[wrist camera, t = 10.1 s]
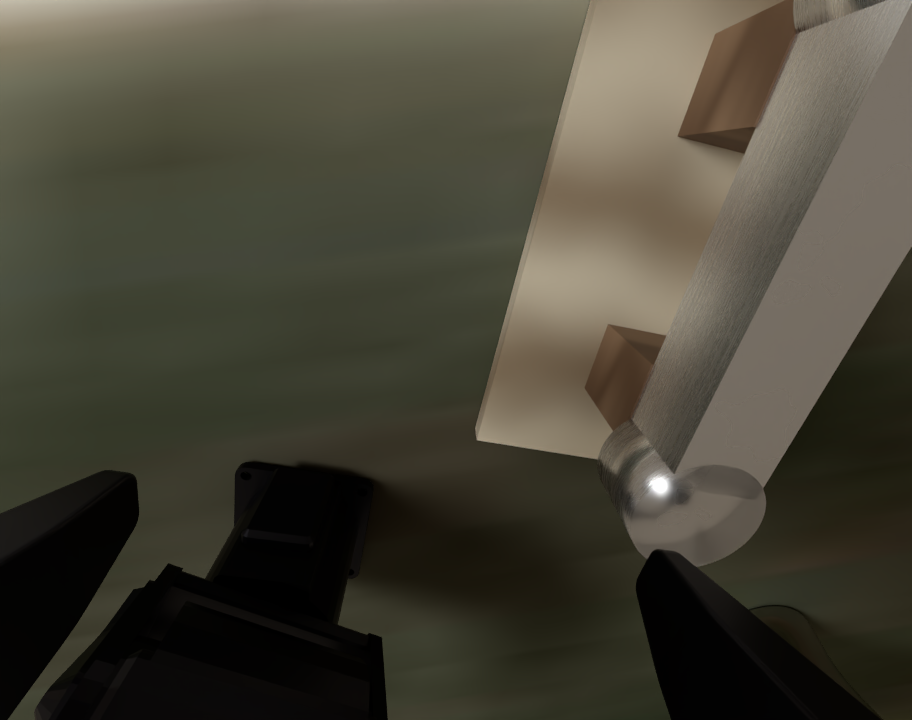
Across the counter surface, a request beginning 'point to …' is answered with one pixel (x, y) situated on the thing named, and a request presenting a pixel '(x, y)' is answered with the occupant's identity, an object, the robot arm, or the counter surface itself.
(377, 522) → the counter surface
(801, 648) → the beer glass
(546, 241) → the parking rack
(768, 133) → the grey rod with balls
